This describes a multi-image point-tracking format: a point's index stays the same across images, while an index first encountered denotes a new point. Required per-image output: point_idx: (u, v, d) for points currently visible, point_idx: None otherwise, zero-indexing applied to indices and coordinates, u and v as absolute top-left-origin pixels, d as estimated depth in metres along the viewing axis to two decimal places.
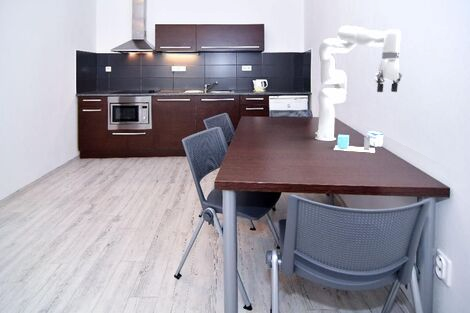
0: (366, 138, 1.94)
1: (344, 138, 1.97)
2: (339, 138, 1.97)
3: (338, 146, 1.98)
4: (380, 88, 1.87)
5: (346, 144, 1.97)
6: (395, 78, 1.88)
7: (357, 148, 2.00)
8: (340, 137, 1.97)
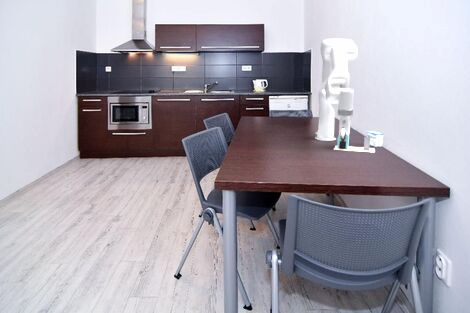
0: (366, 138, 1.94)
1: None
2: (339, 138, 1.97)
3: (338, 146, 1.98)
4: None
5: (346, 144, 1.97)
6: (339, 133, 1.97)
7: (357, 148, 2.00)
8: None
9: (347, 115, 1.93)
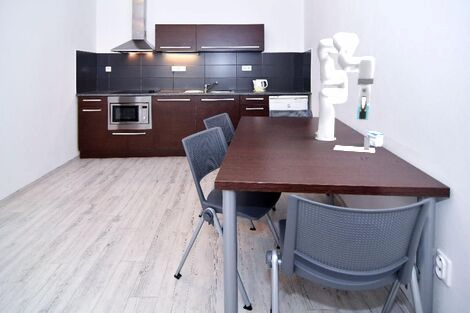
0: (366, 138, 1.94)
1: None
2: (359, 108, 1.91)
3: (358, 117, 1.92)
4: None
5: (366, 114, 1.90)
6: (359, 103, 1.91)
7: (357, 148, 2.00)
8: None
9: (367, 84, 1.87)
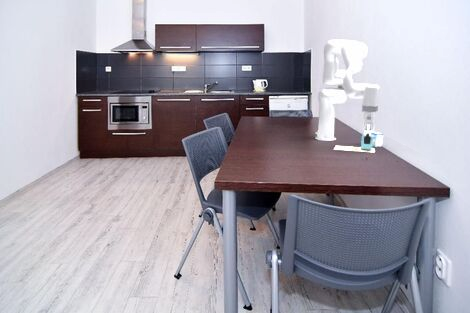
0: None
1: None
2: (363, 138, 1.93)
3: (362, 146, 1.94)
4: None
5: (370, 144, 1.93)
6: None
7: (357, 148, 2.00)
8: None
9: (372, 111, 1.89)
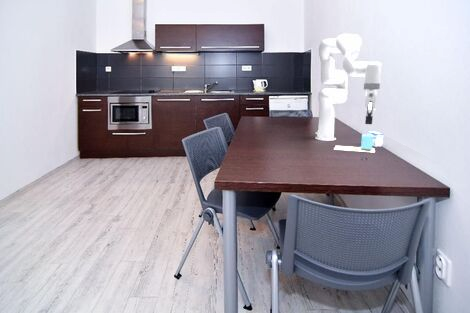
0: None
1: (368, 138, 1.93)
2: (363, 138, 1.93)
3: (362, 146, 1.94)
4: None
5: (370, 144, 1.93)
6: None
7: (357, 148, 2.00)
8: (364, 137, 1.93)
9: (374, 89, 1.86)
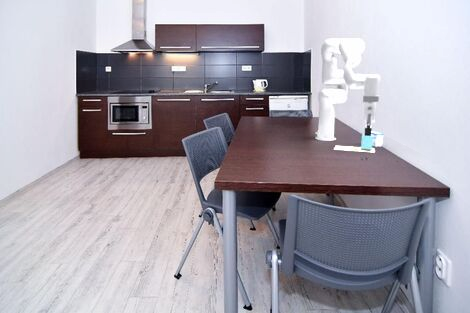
0: None
1: (368, 138, 1.93)
2: (363, 138, 1.93)
3: (362, 146, 1.94)
4: None
5: (370, 144, 1.93)
6: None
7: (357, 148, 2.00)
8: (364, 137, 1.93)
9: (373, 101, 1.88)
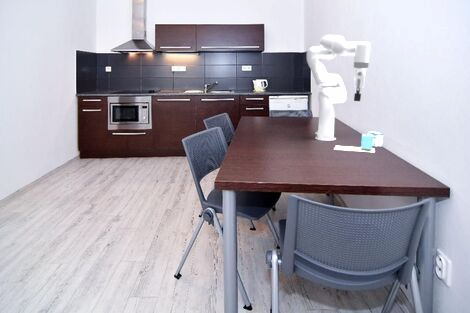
0: None
1: (368, 138, 1.93)
2: (363, 138, 1.93)
3: (362, 146, 1.94)
4: None
5: (370, 144, 1.93)
6: None
7: (357, 148, 2.00)
8: (364, 137, 1.93)
9: (363, 67, 1.97)
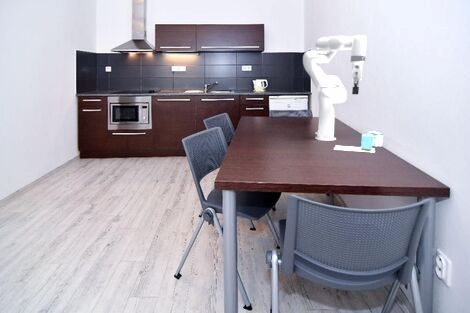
0: None
1: (368, 138, 1.93)
2: (363, 138, 1.93)
3: (362, 146, 1.94)
4: None
5: (370, 144, 1.93)
6: (352, 79, 2.04)
7: (357, 148, 2.00)
8: (364, 137, 1.93)
9: (360, 61, 2.00)
